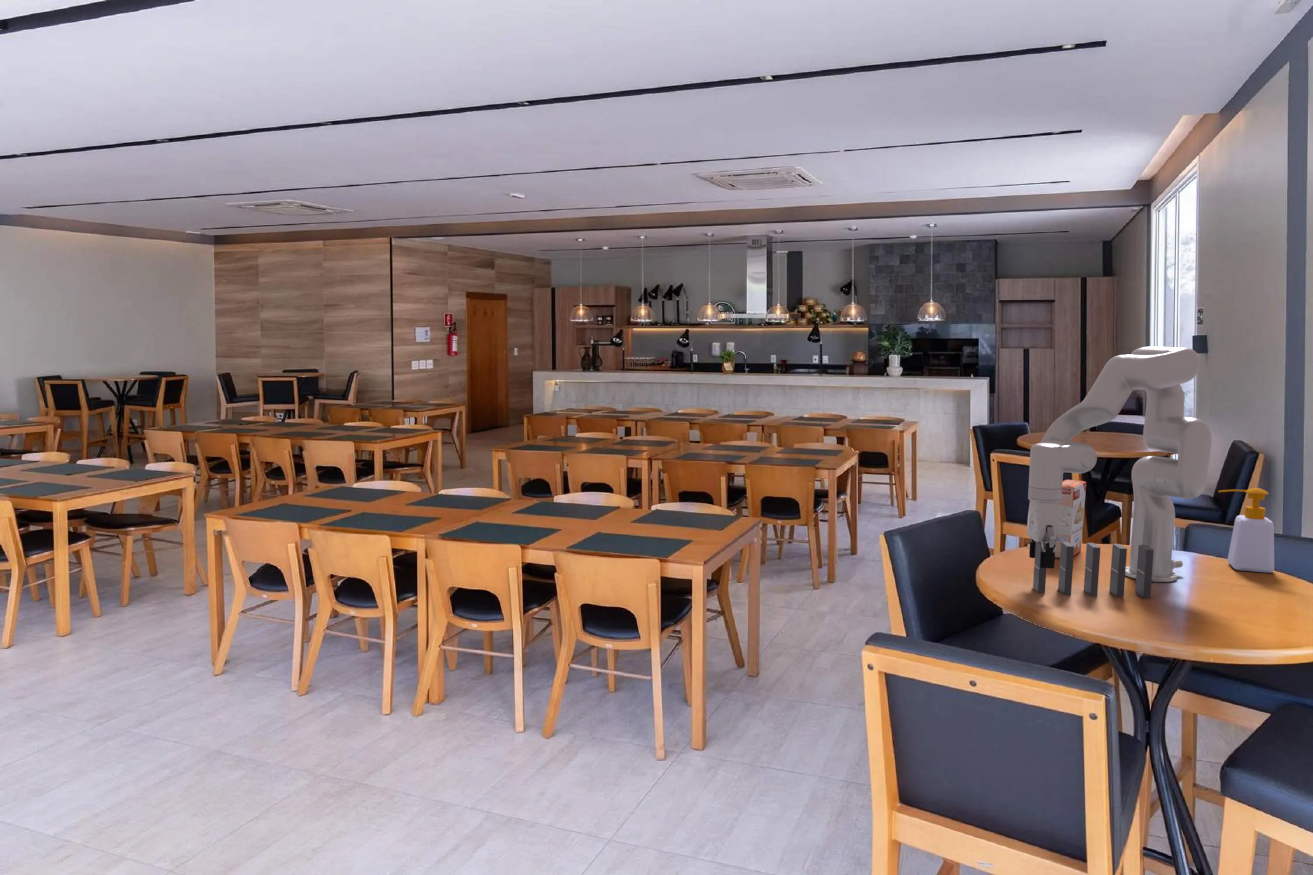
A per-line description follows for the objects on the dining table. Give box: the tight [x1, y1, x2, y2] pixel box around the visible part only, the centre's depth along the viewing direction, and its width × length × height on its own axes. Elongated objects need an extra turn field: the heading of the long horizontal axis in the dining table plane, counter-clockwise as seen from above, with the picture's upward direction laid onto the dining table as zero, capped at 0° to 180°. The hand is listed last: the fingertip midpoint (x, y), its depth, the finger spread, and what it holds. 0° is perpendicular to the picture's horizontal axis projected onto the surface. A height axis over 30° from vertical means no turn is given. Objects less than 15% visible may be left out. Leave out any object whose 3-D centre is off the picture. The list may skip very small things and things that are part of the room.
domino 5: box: [1134, 545, 1154, 600], centre depth 221 cm, size 2×5×12 cm, turn 172°
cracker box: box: [1055, 479, 1087, 559], centre depth 262 cm, size 14×6×21 cm, turn 142°
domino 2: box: [1057, 542, 1075, 596], centre depth 224 cm, size 2×5×12 cm, turn 172°
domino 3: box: [1083, 542, 1101, 597], centre depth 223 cm, size 2×5×12 cm, turn 172°
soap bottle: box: [1218, 487, 1275, 574], centre depth 249 cm, size 10×14×22 cm
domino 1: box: [1032, 541, 1047, 594], centre depth 225 cm, size 2×5×12 cm, turn 171°
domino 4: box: [1108, 543, 1128, 598], centre depth 222 cm, size 2×5×12 cm, turn 172°
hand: (1041, 562), depth 225 cm, fingers open, 9 cm apart
